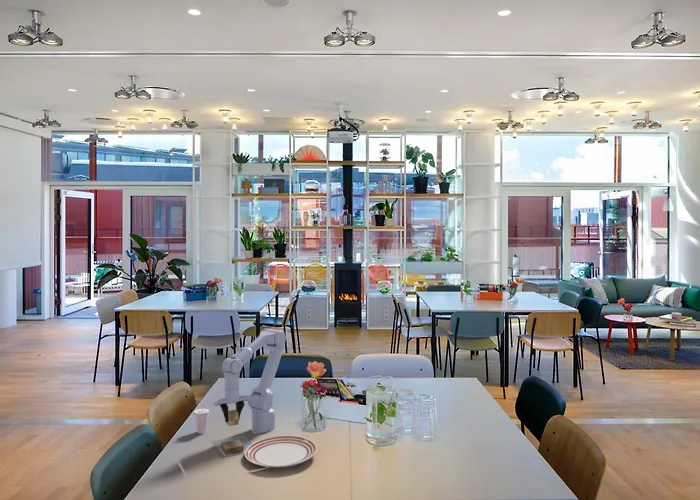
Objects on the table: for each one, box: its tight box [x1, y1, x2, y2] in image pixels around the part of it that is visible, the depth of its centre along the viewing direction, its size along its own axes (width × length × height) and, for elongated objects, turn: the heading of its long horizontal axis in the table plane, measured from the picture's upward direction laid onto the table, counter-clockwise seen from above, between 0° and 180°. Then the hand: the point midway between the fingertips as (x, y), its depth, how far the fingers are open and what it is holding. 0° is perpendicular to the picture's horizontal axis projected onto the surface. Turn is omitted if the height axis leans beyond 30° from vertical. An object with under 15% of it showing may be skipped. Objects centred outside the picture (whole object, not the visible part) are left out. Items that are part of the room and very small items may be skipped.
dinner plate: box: [244, 434, 318, 469], centre depth 202 cm, size 28×27×3 cm
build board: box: [211, 434, 253, 459], centre depth 212 cm, size 14×18×1 cm
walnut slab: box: [221, 440, 244, 455], centre depth 208 cm, size 7×7×2 cm
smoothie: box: [193, 400, 210, 435], centre depth 227 cm, size 6×6×14 cm
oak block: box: [225, 409, 239, 427], centre depth 217 cm, size 4×4×5 cm
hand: (232, 420), depth 217 cm, fingers closed on oak block, 4 cm apart
